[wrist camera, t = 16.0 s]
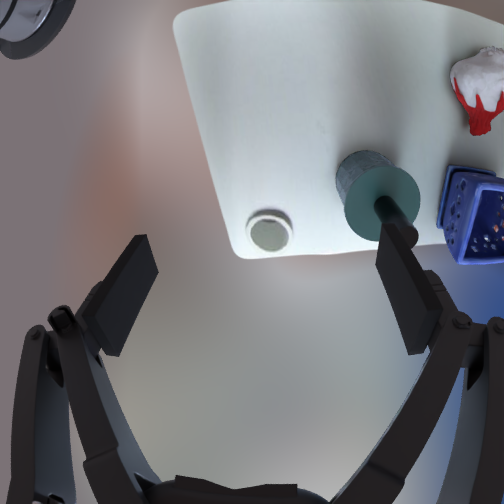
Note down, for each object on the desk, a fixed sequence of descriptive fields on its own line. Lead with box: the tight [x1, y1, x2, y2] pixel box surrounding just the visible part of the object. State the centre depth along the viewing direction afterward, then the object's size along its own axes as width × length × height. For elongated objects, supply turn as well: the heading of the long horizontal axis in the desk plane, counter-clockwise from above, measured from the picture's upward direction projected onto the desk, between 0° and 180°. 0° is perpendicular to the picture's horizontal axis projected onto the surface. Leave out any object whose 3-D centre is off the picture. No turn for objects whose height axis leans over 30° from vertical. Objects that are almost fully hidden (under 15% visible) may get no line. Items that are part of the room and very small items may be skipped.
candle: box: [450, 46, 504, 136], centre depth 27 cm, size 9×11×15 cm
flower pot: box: [436, 165, 504, 264], centre depth 36 cm, size 13×13×12 cm
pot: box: [336, 150, 395, 205], centre depth 39 cm, size 10×10×8 cm
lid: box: [344, 165, 420, 249], centre depth 32 cm, size 11×11×9 cm
